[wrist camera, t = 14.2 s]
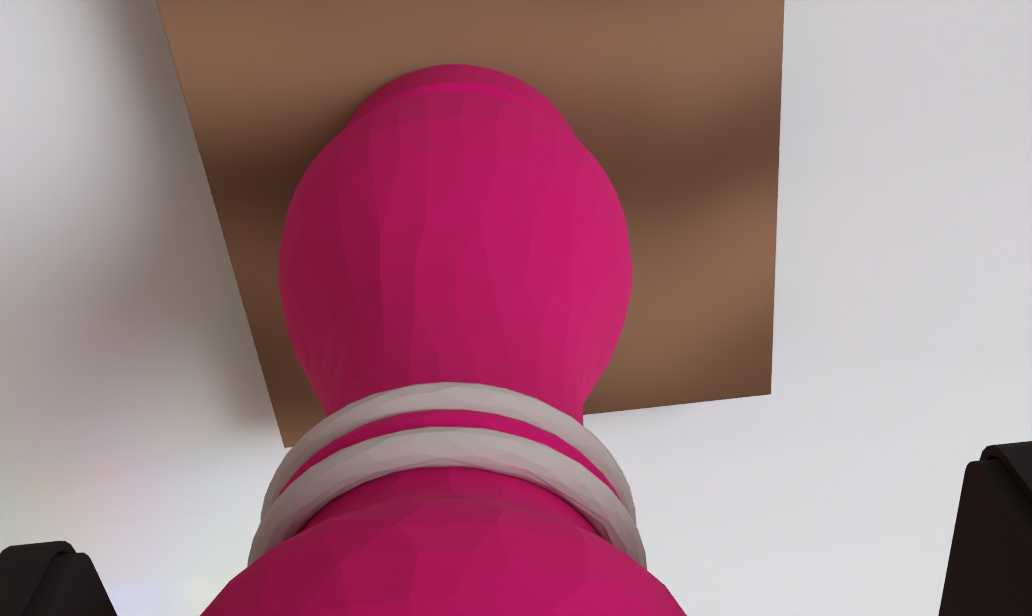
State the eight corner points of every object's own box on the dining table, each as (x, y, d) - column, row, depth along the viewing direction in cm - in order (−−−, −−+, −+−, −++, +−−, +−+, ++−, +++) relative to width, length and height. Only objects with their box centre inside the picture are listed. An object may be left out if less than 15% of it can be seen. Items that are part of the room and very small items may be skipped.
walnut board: (136, -177, 21) (106, -172, 19) (766, -254, 21) (793, -256, 19) (295, 407, 29) (284, 447, 27) (752, 356, 29) (770, 393, 27)
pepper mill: (294, 286, 25) (-123, 1517, 7) (334, 8, 21) (-276, 1080, 4) (562, 335, 26) (754, 1508, 8) (641, 78, 22) (1239, 1160, 5)
